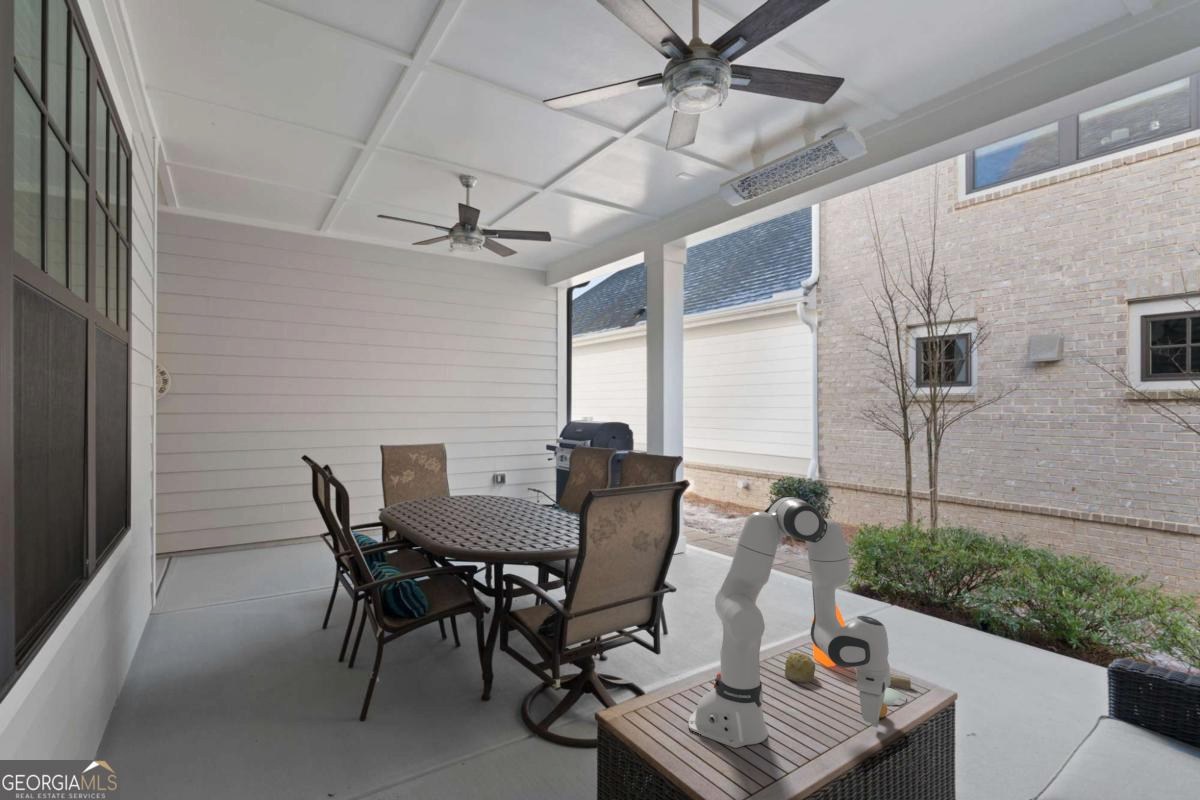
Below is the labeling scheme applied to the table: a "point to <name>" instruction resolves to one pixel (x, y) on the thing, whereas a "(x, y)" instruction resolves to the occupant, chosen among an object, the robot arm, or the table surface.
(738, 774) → the table surface
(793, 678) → the rock
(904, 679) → the bar
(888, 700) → the disc
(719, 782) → the table surface
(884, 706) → the ball
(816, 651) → the orange juice
